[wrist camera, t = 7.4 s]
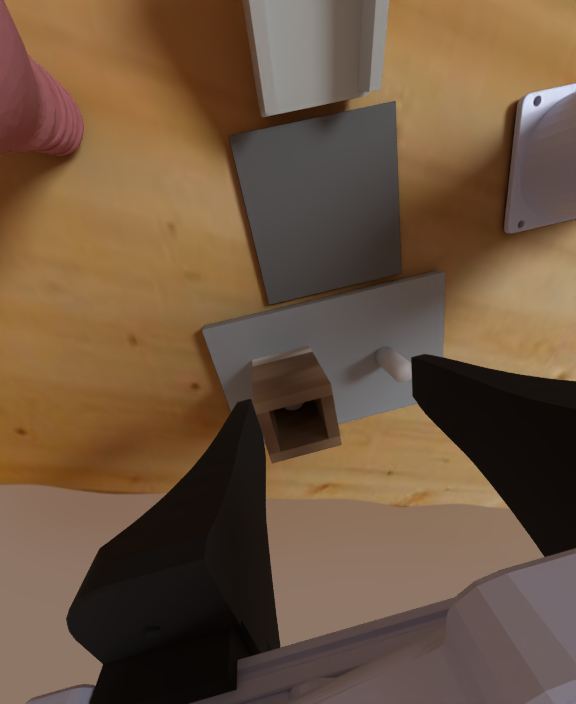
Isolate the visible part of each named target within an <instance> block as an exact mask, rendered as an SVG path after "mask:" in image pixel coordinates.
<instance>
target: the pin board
mask: <svg viewBox="0 0 576 704" xmlns="http://www.w3.org/2000/svg"><path fill="white" fill-rule="evenodd" d="M444 302H445V272H443V271H433V272H428V273H424V274H420V275H416V276H412V277H407V278H403V279H399V280H395V281H391V282H386V283H382V284H378V285H374V286H370V287H365V288H361V289H357V290H353V291H349V292H344V293H340V294H336V295H332V296H328V297H323V298H319V299H315V300H311V301H307V302H302V303H298V304H294V305H290V306H286V307H281V308H277V309H273V310H269V311H265V312H260V313H256V314H252V315H248V316H244V317H239V318H235V319H231V320H227V321H223V322H218V323H214V324H210V325H206V326H204V327H203V329H202V332H203V335H204V338H205V340H206V343H207V346H208V349H209V352H210V354H211V357H212V360H213V363H214V366H215V368H216V371H217V374H218V377H219V380H220V382H221V385H222V388H223V391H224V394H225V396H226V399H227V402H228V405H229V408H230V410H231V412H232V410H233V408H234V407H235V405H236V403H237V402H240V401H243V400H247V399H251V400H252V403H253V374H252V360H254V359H258V358H262V357H266V356H270V355H274V354H278V353H282V352H286V351H290V350H293V349H297V348H301V347H305V346H309V347H310V348H311V350H312V352H313V354H314V355H315V357H316V359H317V360H318V362H319V364H320V366H321V367H322V369H323V371H324V373H325V374H326V376H327V378H328V380H329V381H330V383H331V386H332V392H333V398H334V404H335V410H336V415H337V421H338V424H341V423H345V422H348V421H352V420H356V419H360V418H364V417H368V416H372V415H375V414H379V413H383V412H387V411H391V410H395V409H399V408H402V407H406V406H410V405H414V404H418V403H417V402H416V400H415V399H414V398H413V396H412V368H411V357H414V356H418V355H422V354H429V355H434V356H439V357H443V337H444ZM303 403H304V402H303ZM303 403H299V404H295V405H291V406H287V407H284V408H285V409H287V410H297V409H299V408H300V407H301V406H302V405H303ZM263 438H264V437H263ZM264 443H265V440H264Z"/></svg>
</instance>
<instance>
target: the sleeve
mask: <svg viewBox="0 0 576 704" xmlns="http://www.w3.org/2000/svg"><path fill="white" fill-rule="evenodd" d="M252 374H253V406H254V409H255V412H256V415H257V418H258V421H259V424H260V427H261V430H262V434H263V437H264V440H265V443H266V446H267V450H268V453H269V456H270V459H271V462H272V463H275V462H279V461H283V460H287V459H290V458H294V457H298V456H302V455H305V454H309V453H313V452H316V451H320V450H324V449H328V448H331V447H335V446H339V445H341V439H340V433H339V427H338V421H337V415H336V410H335V404H334V398H333V392H332V386H331V383H330V381H329V380H328V378H327V376H326V374H325V373H324V371H323V369H322V367H321V366H320V364H319V362H318V360H317V359H316V357H315V355H314V354H313V352H312V350H311V348H310V347H309V346H305V347H301V348H297V349H293V350H290V351H286V352H282V353H278V354H274V355H270V356H266V357H262V358H258V359H254V360H252ZM303 402H304V403H303ZM299 403H303V405H302V406H301V407H300V408H299V409H297V410H287V409H285V408H284V407H287V406H291V405H295V404H299Z"/></svg>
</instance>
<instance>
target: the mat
mask: <svg viewBox="0 0 576 704" xmlns="http://www.w3.org/2000/svg"><path fill="white" fill-rule="evenodd" d="M229 139H230V143H231V148H232V152H233V156H234V160H235V164H236V168H237V173H238V177H239V181H240V185H241V189H242V194H243V198H244V202H245V206H246V210H247V214H248V219H249V223H250V227H251V231H252V235H253V240H254V244H255V248H256V252H257V256H258V260H259V265H260V269H261V273H262V277H263V281H264V285H265V290H266V294H267V298H268V302H269V305H270V304H274V303H279V302H283V301H287V300H291V299H296V298H300V297H304V296H308V295H312V294H317V293H321V292H325V291H329V290H333V289H338V288H342V287H346V286H350V285H354V284H359V283H363V282H367V281H371V280H376V279H380V278H384V277H388V276H392V275H397V274H401V244H400V215H399V187H398V158H397V129H396V101H393V102H388V103H383V104H378V105H374V106H369V107H364V108H359V109H355V110H350V111H345V112H340V113H335V114H331V115H326V116H321V117H316V118H312V119H307V120H302V121H297V122H292V123H288V124H283V125H278V126H273V127H269V128H264V129H259V130H254V131H249V132H245V133H240V134H235V135H230V136H229Z"/></svg>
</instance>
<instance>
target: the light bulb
mask: <svg viewBox="0 0 576 704" xmlns="http://www.w3.org/2000/svg"><path fill="white" fill-rule="evenodd" d="M83 130H84V128H83V122H82V116H81V114H80V111H79V109H78V107H77V104H76V102H75V101H74V99H73V98H72V97H71V95H70V94H69V92H68V91H67V90H66V89H65V88H64V87H63V86H62V85H61V84H60V83H59V82H58V81H57V80H55V79H54V78H53V77H52V76H51V75H50V74H49V73H48V72H47V71H46V70H45V69H44V68H43V67H42V66H40V65H39V64H37V63H36V62H35V61H34V60H33V59H32V58H31V57H30V56H29V55H28V54H27V51H26V49H25V46H24V44H23V42H22V40H21V37H20V35H19V33H18V31H17V28H16V26H15V24H14V22H13V20H12V17H11V15H10V13H9V11H8V9H7V6H6V4H5V2H4V0H0V154H1V153H3V152H6V151H11V152H18V153H19V152H30V151H37V152H42V153H45V154H48V155H53V156H63V155H68V154H71V153H72V152H74V151H75V150H76V149H77V148H78V147H79V145H80V143H81V141H82V139H83Z"/></svg>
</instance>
